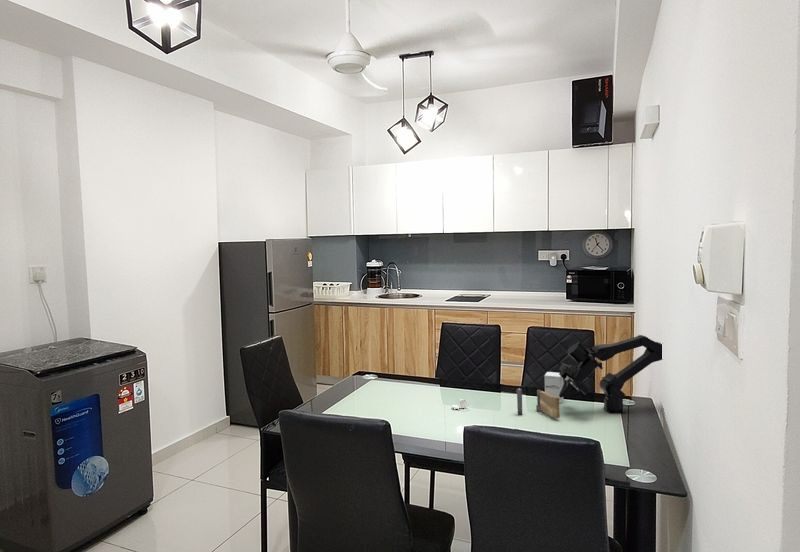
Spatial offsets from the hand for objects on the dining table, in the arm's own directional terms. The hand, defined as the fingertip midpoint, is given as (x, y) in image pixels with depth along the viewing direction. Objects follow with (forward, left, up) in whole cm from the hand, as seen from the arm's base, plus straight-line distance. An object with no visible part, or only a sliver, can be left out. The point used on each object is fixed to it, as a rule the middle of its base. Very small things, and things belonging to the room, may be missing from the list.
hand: (559, 396), depth 211 cm
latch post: (+17, -1, -7) cm, 18 cm away
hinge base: (+7, -5, -7) cm, 11 cm away
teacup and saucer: (+41, -16, -8) cm, 44 cm away
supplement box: (-3, -18, -8) cm, 19 cm away
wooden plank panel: (+6, +1, -6) cm, 9 cm away
